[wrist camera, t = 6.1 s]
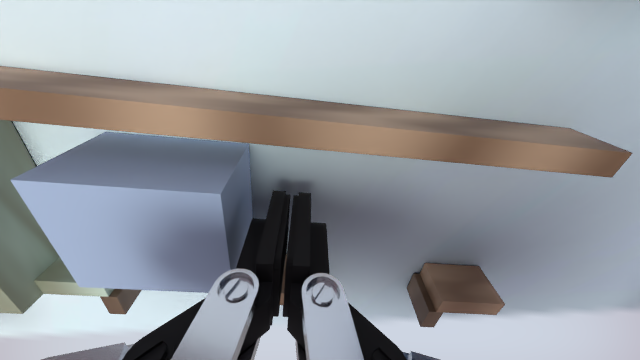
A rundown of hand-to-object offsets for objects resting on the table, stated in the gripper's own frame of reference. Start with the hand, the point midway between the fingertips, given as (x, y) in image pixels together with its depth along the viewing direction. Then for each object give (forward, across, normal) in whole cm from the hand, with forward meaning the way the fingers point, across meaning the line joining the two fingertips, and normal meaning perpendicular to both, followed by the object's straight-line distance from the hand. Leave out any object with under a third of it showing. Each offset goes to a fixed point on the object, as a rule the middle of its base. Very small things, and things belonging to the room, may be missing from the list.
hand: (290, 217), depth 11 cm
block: (+2, +5, 0) cm, 5 cm away
